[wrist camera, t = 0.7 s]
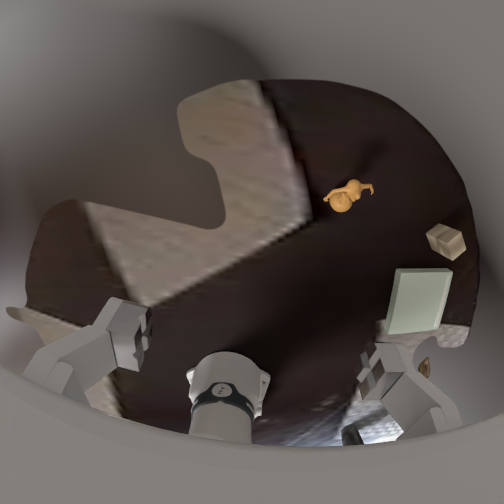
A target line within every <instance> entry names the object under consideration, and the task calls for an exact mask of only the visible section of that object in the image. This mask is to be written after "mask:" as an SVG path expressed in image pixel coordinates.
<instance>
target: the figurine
mask: <svg viewBox="0 0 504 504" xmlns="http://www.w3.org/2000/svg"><path fill="white" fill-rule="evenodd" d="M369 187H370V190H371V191H372V193H373V192H374V190H373V187H372V184H361V183H360V182H359V181H358V180H355V179H352V180H350V181H349V182H348V183H347V185H346V186H345V187H342V188H337V189H334V190H332V191H331V192H330V193H329V194H328V195H327V196H326V197H325V198H324V199H323V200H324V201H325V202H326V200H327V199H328V198H329V197H330V205H331V207H332V208H333V209H334V210H335V211H338V212H345V211H347V210H348V209H349V208H350V207H351V205H352V201H353V202H354V201H356V199H359V198H360V196H361V191H362V190H363V189H365V188H369ZM372 193H371V195H372ZM327 201H328V200H327Z"/></svg>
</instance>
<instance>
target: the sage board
mask: <svg viewBox="0 0 504 504" xmlns="http://www.w3.org/2000/svg"><path fill="white" fill-rule="evenodd" d="M452 274H453V272H452V271H451V270H449V269H447V268H418V269H396V272H395V278H394V283H393V289H392V294H391V299H390V304H389V309H388V313H387V318H386V322H385V326H384V330H385V331H386V333H387V334H388V335H391V334H401V333H410V332H419V331H427V330H435V329H438V327H439V324H440V321H441V318H442V314H443V311H444V307H445V303H446V299H447V295H448V291H449V287H450V283H451V278H452Z"/></svg>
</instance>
